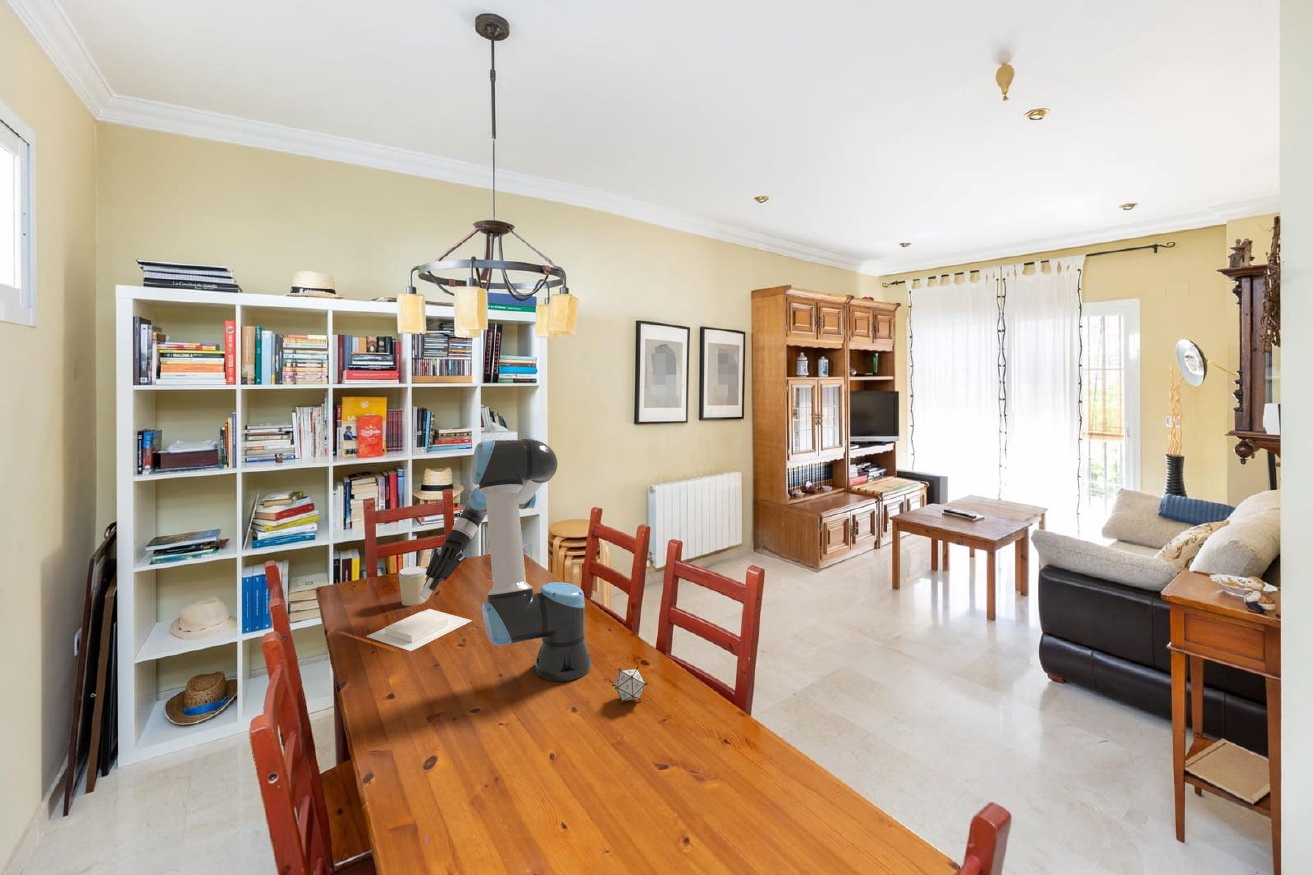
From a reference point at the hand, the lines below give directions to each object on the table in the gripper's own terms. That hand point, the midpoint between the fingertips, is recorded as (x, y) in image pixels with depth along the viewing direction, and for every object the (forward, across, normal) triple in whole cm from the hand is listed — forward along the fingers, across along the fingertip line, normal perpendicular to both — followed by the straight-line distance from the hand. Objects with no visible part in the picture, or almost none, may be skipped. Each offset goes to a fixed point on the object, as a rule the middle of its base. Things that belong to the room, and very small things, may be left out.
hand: (422, 598), depth 180 cm
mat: (+8, 0, -6) cm, 10 cm away
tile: (+3, 0, -9) cm, 9 cm away
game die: (+10, -78, -4) cm, 79 cm away
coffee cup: (-2, +20, -16) cm, 26 cm away
